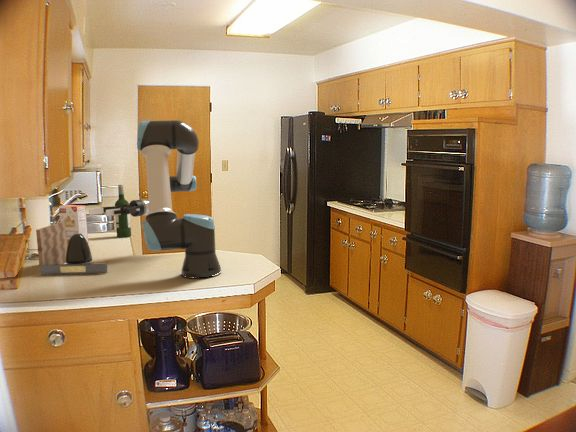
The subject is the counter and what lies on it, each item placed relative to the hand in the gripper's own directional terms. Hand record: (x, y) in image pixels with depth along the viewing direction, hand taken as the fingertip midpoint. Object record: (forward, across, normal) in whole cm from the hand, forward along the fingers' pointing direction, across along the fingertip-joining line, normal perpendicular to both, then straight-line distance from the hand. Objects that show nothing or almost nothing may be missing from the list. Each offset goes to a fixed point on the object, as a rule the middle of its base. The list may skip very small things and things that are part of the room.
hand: (97, 212), depth 216 cm
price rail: (+15, -6, -23) cm, 28 cm away
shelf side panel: (+13, +14, -23) cm, 30 cm away
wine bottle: (-48, +58, -21) cm, 78 cm away
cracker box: (-20, +60, -22) cm, 67 cm away
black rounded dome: (+10, 0, -23) cm, 25 cm away
